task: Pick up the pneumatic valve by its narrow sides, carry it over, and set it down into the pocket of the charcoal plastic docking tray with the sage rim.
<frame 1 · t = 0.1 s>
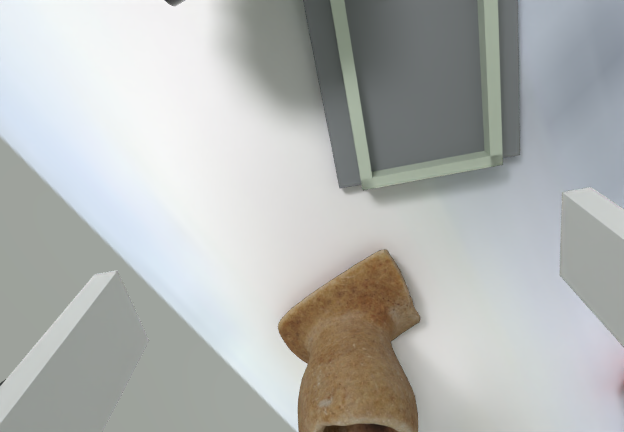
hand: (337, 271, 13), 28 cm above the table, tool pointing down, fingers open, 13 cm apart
docking tray: (415, 73, 38), on the table
stone cup: (354, 313, 49), on the table
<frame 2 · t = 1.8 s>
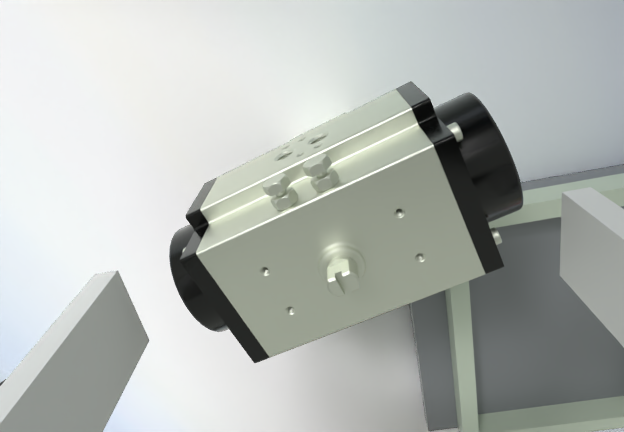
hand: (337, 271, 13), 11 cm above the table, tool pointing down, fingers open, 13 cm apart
pneumatic valve: (328, 145, 24), on the table
docking tray: (543, 305, 28), on the table
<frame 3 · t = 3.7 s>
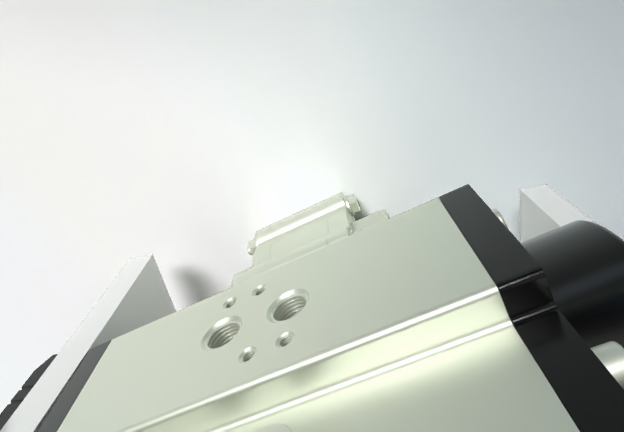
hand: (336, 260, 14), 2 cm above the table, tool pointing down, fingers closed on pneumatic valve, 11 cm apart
pneumatic valve: (315, 235, 16), on the table, touching gripper
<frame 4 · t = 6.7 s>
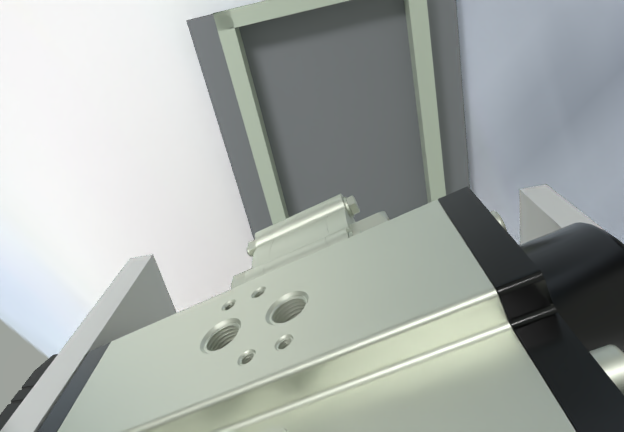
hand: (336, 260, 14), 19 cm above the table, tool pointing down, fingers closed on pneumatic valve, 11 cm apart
pneumatic valve: (314, 236, 16), point 17 cm above the table, touching gripper
docking tray: (341, 124, 31), on the table
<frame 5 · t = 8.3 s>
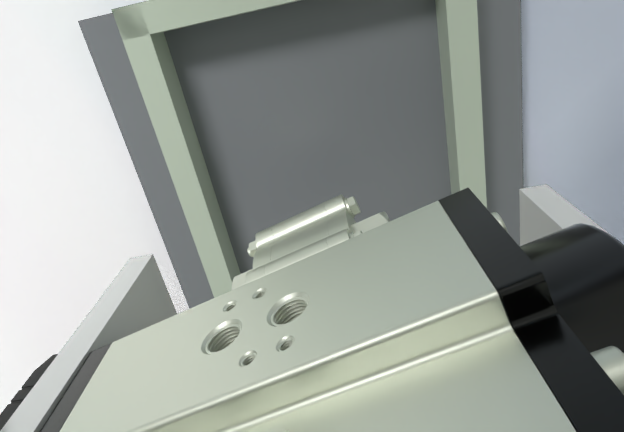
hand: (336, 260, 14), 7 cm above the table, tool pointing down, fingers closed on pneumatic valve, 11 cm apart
pneumatic valve: (315, 237, 16), point 5 cm above the table, touching gripper
docking tray: (331, 182, 20), on the table
when the fingers open (4 cm above the table, at t = 9.9 s): pneumatic valve drops 1 cm, resting on docking tray.
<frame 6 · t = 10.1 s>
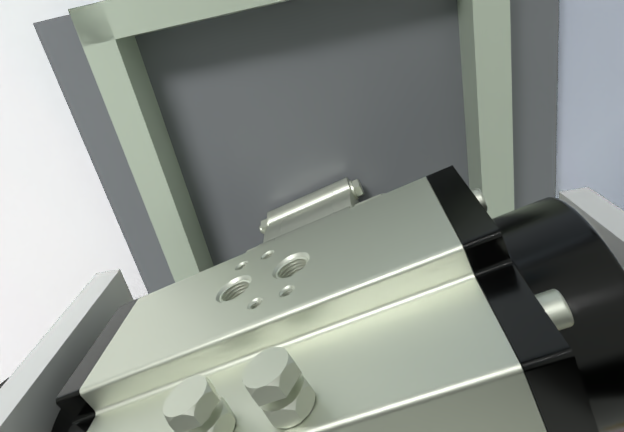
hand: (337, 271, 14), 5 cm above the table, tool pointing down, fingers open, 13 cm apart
pneumatic valve: (322, 217, 17), point 1 cm above the table, touching docking tray
docking tray: (333, 208, 18), on the table
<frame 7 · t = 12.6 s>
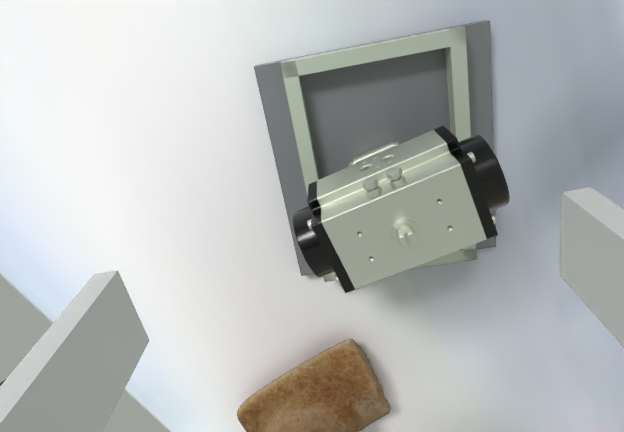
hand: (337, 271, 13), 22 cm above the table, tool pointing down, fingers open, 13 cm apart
pneumatic valve: (378, 162, 34), point 1 cm above the table, touching docking tray
docking tray: (382, 159, 35), on the table
stone cup: (321, 398, 45), on the table
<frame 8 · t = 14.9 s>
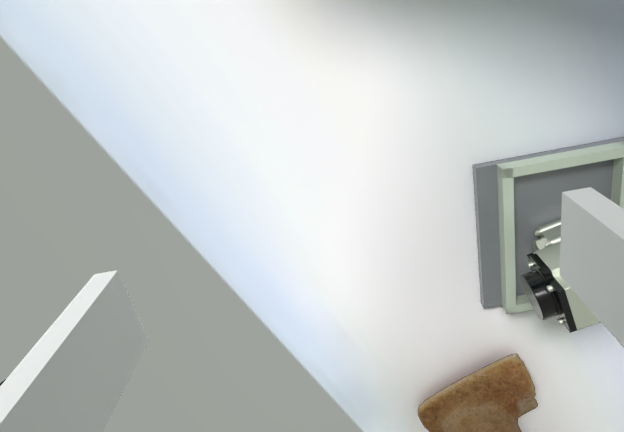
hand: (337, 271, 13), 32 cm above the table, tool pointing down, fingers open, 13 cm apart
pneumatic valve: (553, 229, 47), point 1 cm above the table, touching docking tray
docking tray: (554, 226, 48), on the table
stone cup: (478, 397, 58), on the table
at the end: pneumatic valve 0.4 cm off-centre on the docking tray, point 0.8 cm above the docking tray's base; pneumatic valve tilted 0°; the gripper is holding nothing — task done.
